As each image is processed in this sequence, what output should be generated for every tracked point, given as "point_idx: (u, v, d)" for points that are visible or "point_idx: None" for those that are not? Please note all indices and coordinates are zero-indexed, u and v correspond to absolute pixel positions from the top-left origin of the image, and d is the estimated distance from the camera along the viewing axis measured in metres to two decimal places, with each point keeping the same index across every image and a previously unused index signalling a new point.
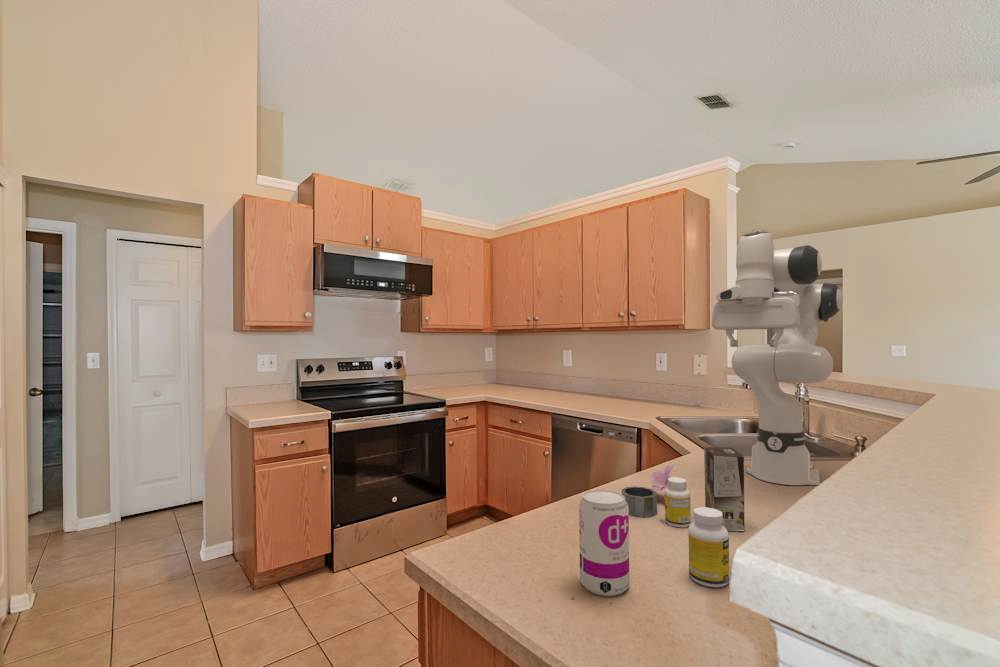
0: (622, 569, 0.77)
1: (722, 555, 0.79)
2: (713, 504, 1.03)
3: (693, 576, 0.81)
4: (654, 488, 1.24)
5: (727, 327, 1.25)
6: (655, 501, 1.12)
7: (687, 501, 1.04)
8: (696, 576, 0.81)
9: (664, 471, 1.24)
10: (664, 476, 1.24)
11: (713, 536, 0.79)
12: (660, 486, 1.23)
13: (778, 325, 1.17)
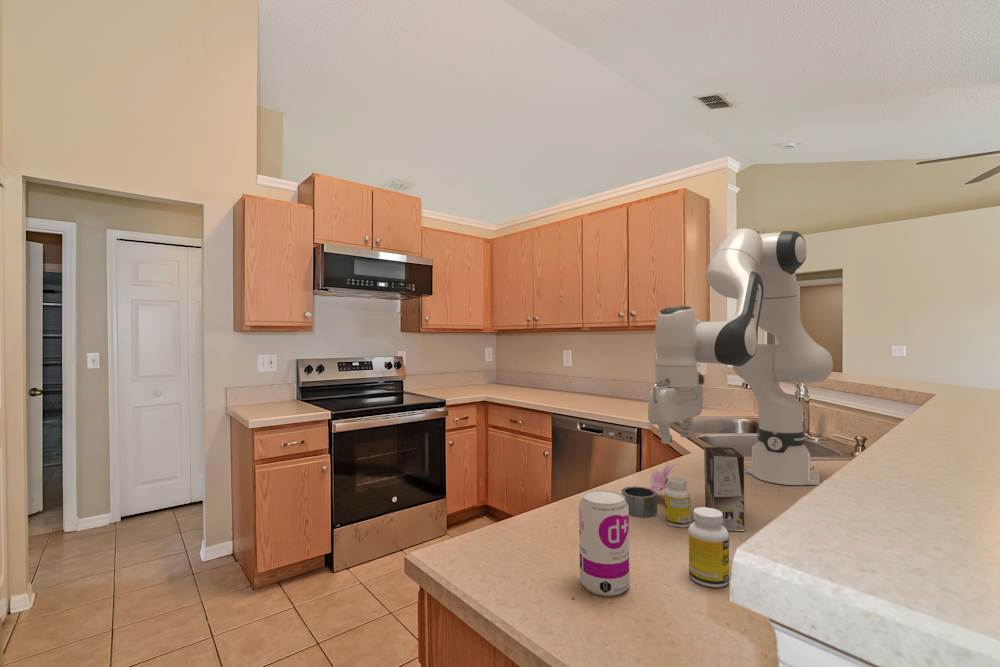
0: (622, 569, 0.77)
1: (722, 555, 0.79)
2: (713, 504, 1.03)
3: (693, 576, 0.81)
4: (653, 488, 1.24)
5: None
6: (655, 501, 1.12)
7: (687, 501, 1.04)
8: (696, 576, 0.81)
9: (663, 471, 1.24)
10: (662, 476, 1.23)
11: (713, 536, 0.79)
12: (659, 486, 1.23)
13: None
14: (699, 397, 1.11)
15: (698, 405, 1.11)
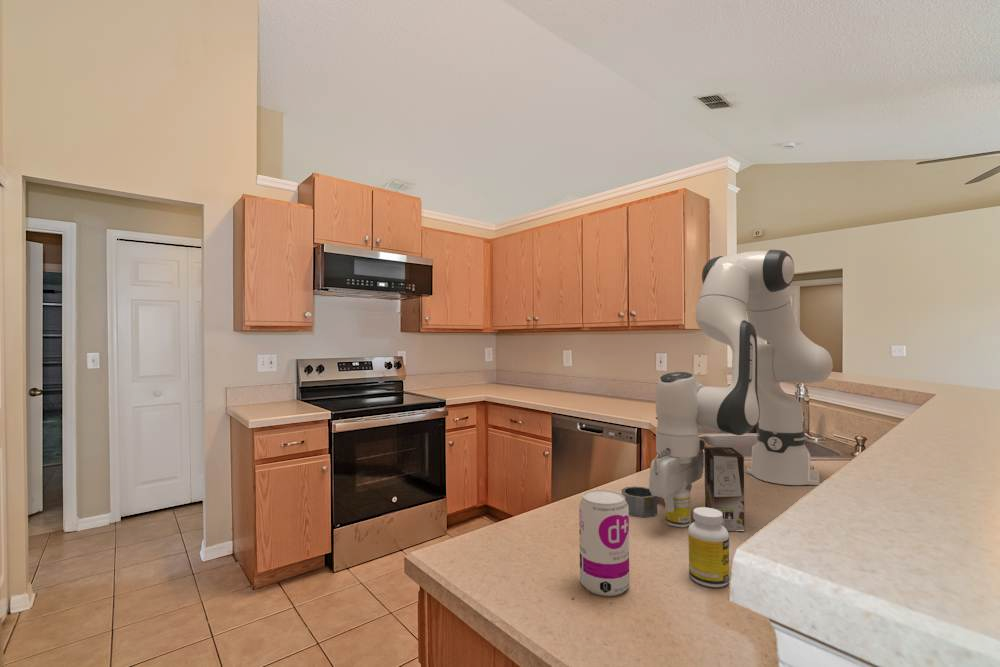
0: (622, 569, 0.77)
1: (722, 555, 0.79)
2: (713, 504, 1.03)
3: (693, 576, 0.81)
4: None
5: None
6: (655, 501, 1.12)
7: (687, 500, 1.04)
8: (696, 576, 0.81)
9: None
10: None
11: (713, 536, 0.79)
12: None
13: None
14: (700, 461, 1.11)
15: (699, 469, 1.11)
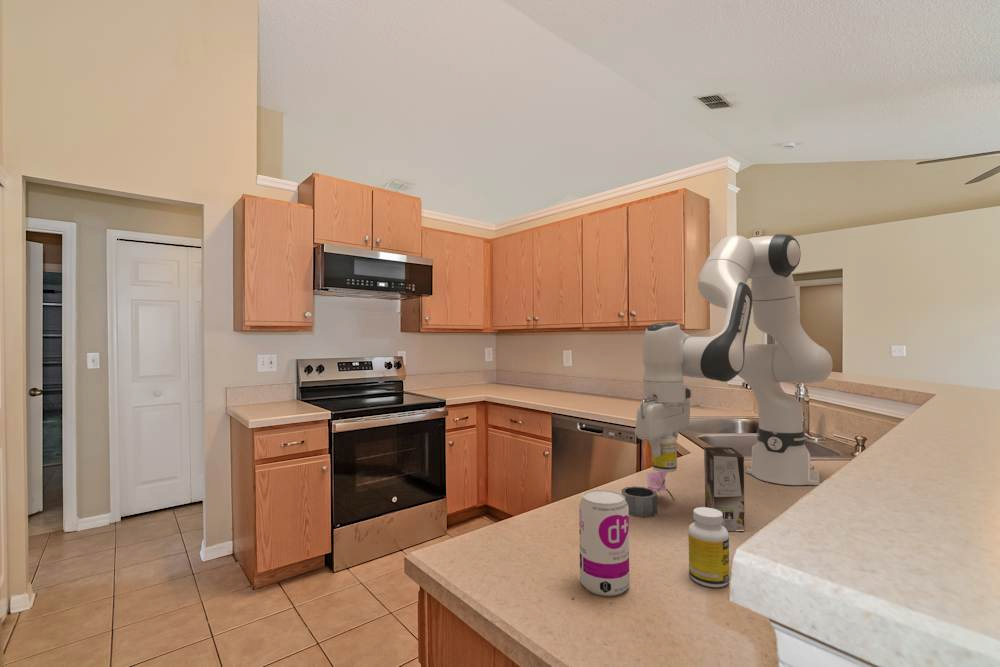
0: (622, 569, 0.77)
1: (722, 555, 0.79)
2: (713, 504, 1.03)
3: (693, 576, 0.81)
4: None
5: None
6: (655, 501, 1.12)
7: (673, 446, 1.07)
8: (696, 576, 0.81)
9: (659, 472, 1.24)
10: (659, 477, 1.23)
11: (713, 536, 0.79)
12: (656, 487, 1.22)
13: None
14: (686, 410, 1.14)
15: (685, 418, 1.14)
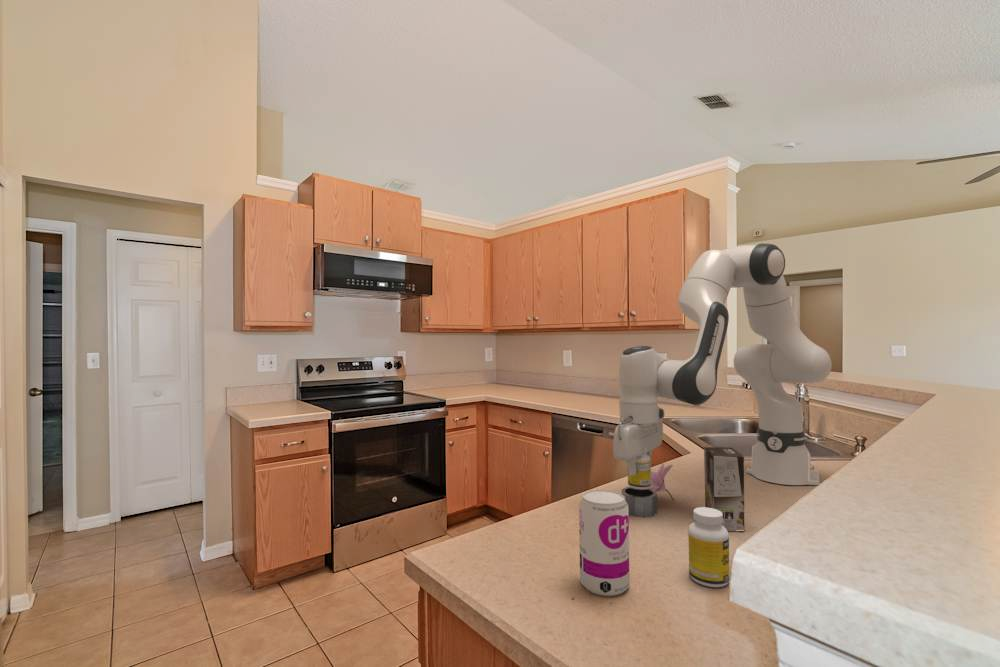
0: (622, 569, 0.77)
1: (722, 555, 0.79)
2: (713, 504, 1.03)
3: (693, 576, 0.81)
4: None
5: None
6: (655, 501, 1.12)
7: (647, 465, 1.12)
8: (696, 576, 0.81)
9: (659, 472, 1.24)
10: (659, 477, 1.23)
11: (713, 536, 0.79)
12: (655, 487, 1.22)
13: None
14: (659, 429, 1.19)
15: (658, 437, 1.19)
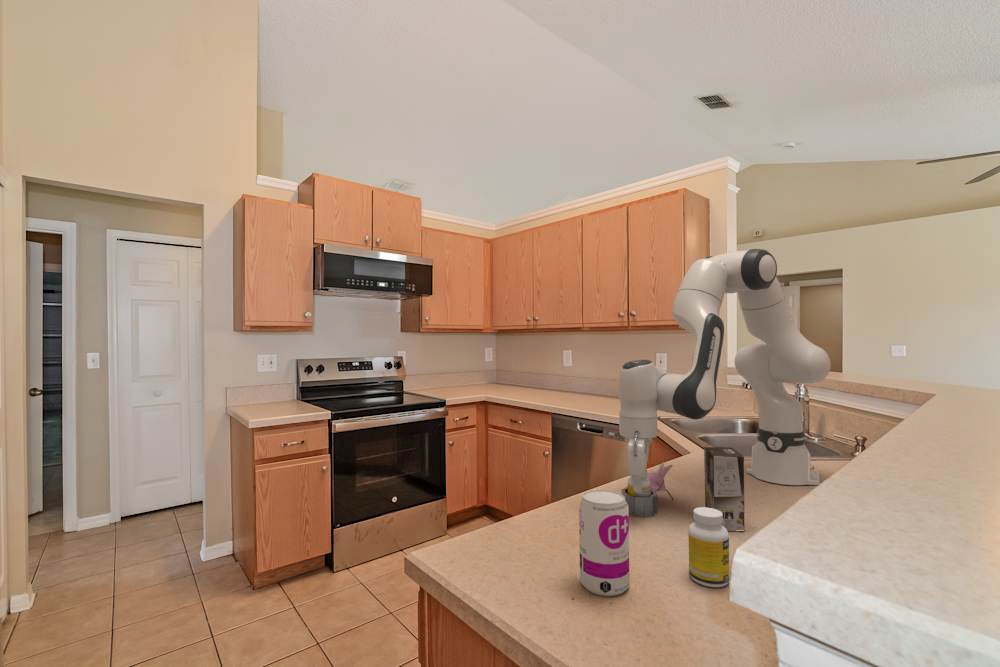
0: (622, 569, 0.77)
1: (722, 555, 0.79)
2: (713, 504, 1.03)
3: (693, 576, 0.81)
4: None
5: None
6: (655, 501, 1.12)
7: (650, 488, 1.13)
8: (696, 576, 0.81)
9: (658, 472, 1.24)
10: (658, 477, 1.23)
11: (713, 536, 0.79)
12: (655, 487, 1.22)
13: None
14: None
15: (647, 449, 1.21)
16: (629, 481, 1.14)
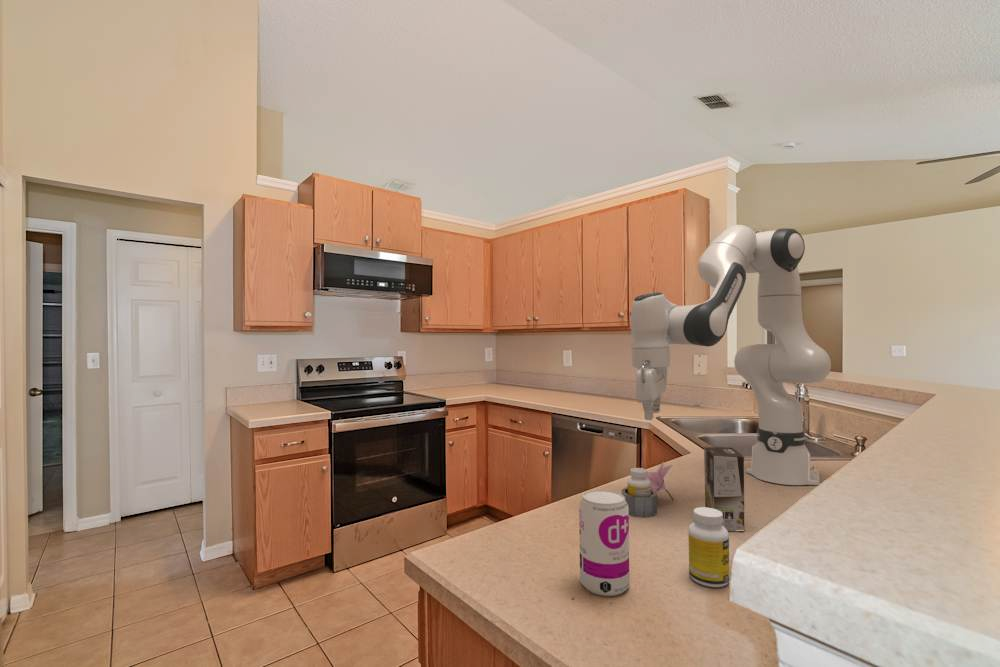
0: (622, 569, 0.77)
1: (722, 555, 0.79)
2: (713, 504, 1.03)
3: (693, 576, 0.81)
4: None
5: None
6: (655, 501, 1.12)
7: (650, 488, 1.13)
8: (696, 576, 0.81)
9: (658, 472, 1.24)
10: (658, 477, 1.23)
11: (713, 536, 0.79)
12: (655, 487, 1.22)
13: None
14: (665, 375, 1.22)
15: (664, 383, 1.22)
16: (629, 481, 1.14)
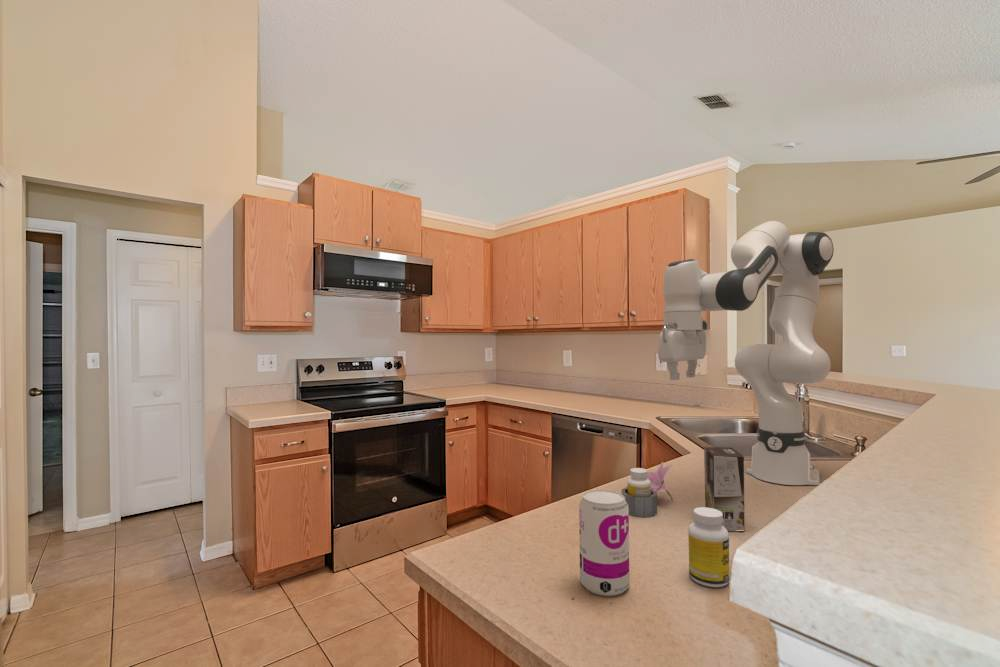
0: (622, 569, 0.77)
1: (722, 555, 0.79)
2: (713, 504, 1.03)
3: (693, 576, 0.81)
4: None
5: None
6: (655, 501, 1.12)
7: (650, 488, 1.13)
8: (696, 576, 0.81)
9: (658, 472, 1.24)
10: (657, 477, 1.23)
11: (713, 536, 0.79)
12: (654, 487, 1.22)
13: None
14: (703, 342, 1.24)
15: (702, 349, 1.24)
16: (629, 481, 1.14)
